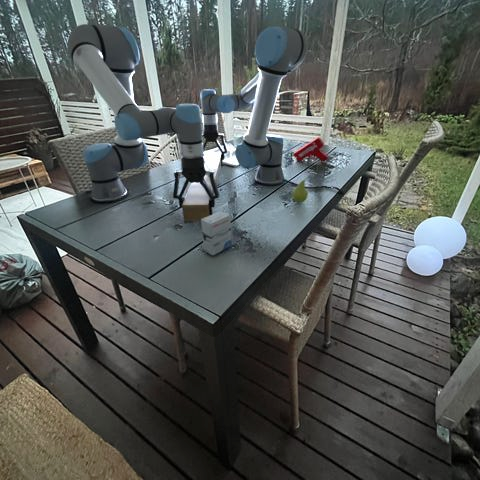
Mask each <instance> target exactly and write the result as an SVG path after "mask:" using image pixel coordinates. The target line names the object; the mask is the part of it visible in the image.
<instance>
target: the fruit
mask: <svg viewBox="0 0 480 480" xmlns="http://www.w3.org/2000/svg"><path fill="white" fill-rule="evenodd" d="M310 177H311V175H310V174H309V175H308V176H307V177H305V179H302V180H301V181H300V182H298V183H297V184H298V186H295V187H294V188H293V190H292V191H291V198H292V200H293V201H294V202H295V203H297V204H301V203H304V202H305V201H306V200H307V198H308V196H309V195H308V189H306V188H305V186H306V184H305V183H306V180H308V179H309V178H310Z"/></svg>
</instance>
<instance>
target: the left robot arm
mask: <svg viewBox="0 0 480 480" xmlns="http://www.w3.org/2000/svg"><path fill="white" fill-rule="evenodd" d="M66 43H67V45H66V48H67V53H68V55H69V59H70V61H71V62H72V63H73V65H74V66H75V67H76V69H77V70H78V71H79V72H81V73H82V74H84V75H85V76H86V78H87V79H88V80H89V82H90V83H91V84H92V86H93V87H94V89H95V90H96V91H97V94H99V95H100V97H101V99H102V100H103V101H104V103H105V104H106V105H107V106H108V108H109V109H110V111H111V112H112V114H113V118H114V127H115V130H116V136H115V137H114V138H113V141H114V144H113V145H112V144H110V143H109V142H101V143H100V142H99V143H94V144H91V145H89V146H87V147H86V148H84V149H83V151H82V154H83V159H84V163H85V166H86V169H87V172H88V175H89V179H90V181H91V190H85V193H86V194H89V193H90V194H91V199H92V201H93V202H95V203H98V204H109V203H114V202H118V201H121V200H123V199H125V198H126V197H127V196H128V191H127V188H126V187H125V186H124V184H123V182H122V181H121V180H120V175H119V173H120V172H125V171H129V170H132V169H139V168H141V167H144V166H145V165H146V164H147V163H148V160H149V151H148V148H147V144H146V143H145V142H144V141H143V140H142V139H145V138H150V137H157V136H164V135H168V134H175V135H178V141H179V151H180V155H181V157H180V158H181V166H182V170H178V169H176V170H175V171H174V172H173V177H174V183H173V191H172V198H173V199H177V200H178V206H179V208H181V211H183V209H182V204H183V202H184V199H185V197H186V196H185V197H184V194H185V191H186V190H187V188H188V185H189V183H190V184H191V183H193V182H196V183H199V182H200V184H201V185H202V186H203V188H204V189H205V191H206V193H207V194H208V196H209V197H210V198H209V211H210V215H213V208H215V205H216V203H215V202H216V201H215V200H217V199H219V198H220V192H219V189H218V184H217V185H216V182H215V179H214V171H213V170H211V171H206V170H205V167H204V156H203V152H204V151H203V145H204V141H203V137H202V134H203V124H202V123H203V122H202V121H203V118H202V113H201V108H200V106H199V105H198V104H196V103H179V104H176V106H175V108H173V107H169V106H167V107H159V108H158V109H154V110H153V109H152V110H143V111H142V109H140V107H139V106H138V105H137V104H136V102H135V98H134V90H133V81H132V80H133V79H132V77H133V75H134V74H135V73H136V71H135V67H136V66H138V65H139V63H140V56H141V55H140V50H139V49H140V48H139V46H138V43H137V40H136V38H135V36H134V34H133V33H132V32H131V31H130V30H129V29H128V28H125V27H121V26H115V25H101V24H100V25H99V24H89V23H83V24H79V25H77V26H76V27H74V28H73V29H72V30H71V31H70V33H69V35H68V38H67V42H66ZM205 175H208V177H209V178H210V182H211V185H212V188H213V191H214V194H213V192H212V191H211V189H210V188H209V186H208V184H207V183H206V181H205V179H204V176H205ZM182 176H183V177H184V178H185V181H184V183H183V186H182V188H181V189H180V193H179V185H180V179H181V177H182Z"/></svg>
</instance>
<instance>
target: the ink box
mask: <svg viewBox="0 0 480 480" xmlns="http://www.w3.org/2000/svg"><path fill="white" fill-rule="evenodd" d="M231 222H232V221H231V215H230V214H228V213H227V212H224V211H222V210H220V211H217V212H216V213H215V212H214V213H212V215H210V216H208V217H205V218H203V219H201V221H200V223H201V232H202V233H201V235H202V243H203V251H205V252H206V253H208V254H209V255H211V256H213V257H214V256H215V255H217V254H219V253H221V252H222V251H224V250H226V249H227V248H229V247H231V246H232V226H231V225H232V224H231Z"/></svg>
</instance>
